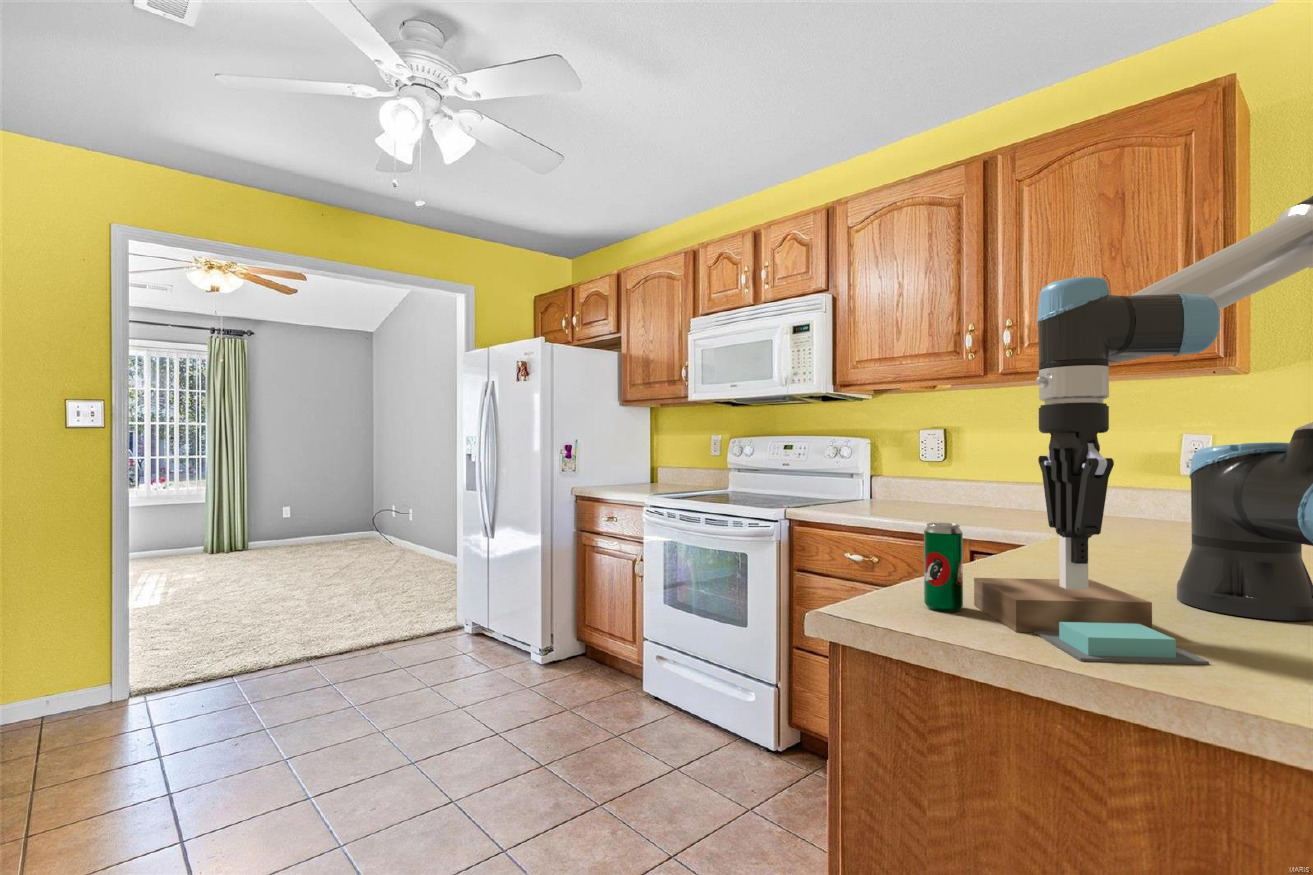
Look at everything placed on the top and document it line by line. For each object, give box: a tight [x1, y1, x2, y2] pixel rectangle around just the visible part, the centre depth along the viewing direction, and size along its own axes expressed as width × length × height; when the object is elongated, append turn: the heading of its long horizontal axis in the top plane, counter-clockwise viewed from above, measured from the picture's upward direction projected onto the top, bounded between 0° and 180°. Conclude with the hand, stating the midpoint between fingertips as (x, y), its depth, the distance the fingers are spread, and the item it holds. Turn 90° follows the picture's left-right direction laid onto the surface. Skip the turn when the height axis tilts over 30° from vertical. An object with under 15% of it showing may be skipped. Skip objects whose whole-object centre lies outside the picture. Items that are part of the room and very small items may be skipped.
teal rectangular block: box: [1059, 622, 1177, 658], centre depth 73 cm, size 9×6×2 cm, turn 85°
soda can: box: [923, 522, 964, 613], centre depth 92 cm, size 5×5×12 cm
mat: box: [1034, 631, 1210, 665], centre depth 74 cm, size 13×10×1 cm
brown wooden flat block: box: [973, 577, 1153, 633], centre depth 86 cm, size 16×13×4 cm
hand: (1073, 587), depth 82 cm, fingers closed
